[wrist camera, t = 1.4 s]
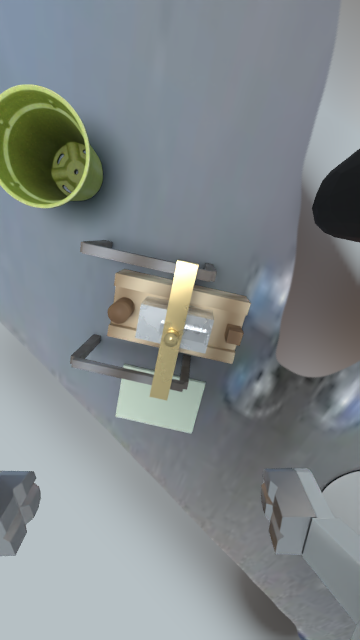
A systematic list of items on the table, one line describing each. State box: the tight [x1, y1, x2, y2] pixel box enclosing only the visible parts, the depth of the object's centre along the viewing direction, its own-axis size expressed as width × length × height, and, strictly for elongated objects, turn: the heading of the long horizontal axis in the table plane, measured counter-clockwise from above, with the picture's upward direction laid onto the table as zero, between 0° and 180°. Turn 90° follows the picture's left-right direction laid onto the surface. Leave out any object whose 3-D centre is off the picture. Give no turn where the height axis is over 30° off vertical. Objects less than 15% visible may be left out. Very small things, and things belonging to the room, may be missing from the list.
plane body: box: [70, 240, 251, 392], centre depth 32 cm, size 19×14×8 cm
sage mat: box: [116, 364, 206, 434], centre depth 40 cm, size 12×9×1 cm
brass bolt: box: [149, 259, 199, 401], centre depth 27 cm, size 2×15×2 cm, turn 168°
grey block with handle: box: [135, 296, 214, 354], centre depth 31 cm, size 8×4×5 cm, turn 78°
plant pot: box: [0, 85, 103, 208], centre depth 27 cm, size 9×9×9 cm
